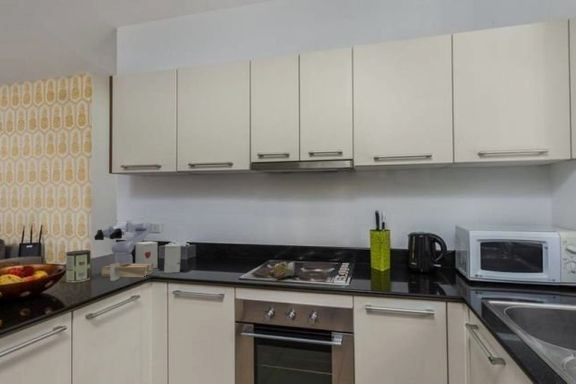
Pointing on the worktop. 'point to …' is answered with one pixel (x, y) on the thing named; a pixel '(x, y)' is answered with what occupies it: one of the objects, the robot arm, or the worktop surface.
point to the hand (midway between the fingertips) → (102, 237)
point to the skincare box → (172, 258)
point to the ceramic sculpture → (282, 270)
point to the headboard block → (130, 270)
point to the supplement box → (146, 253)
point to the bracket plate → (114, 271)
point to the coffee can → (78, 266)
